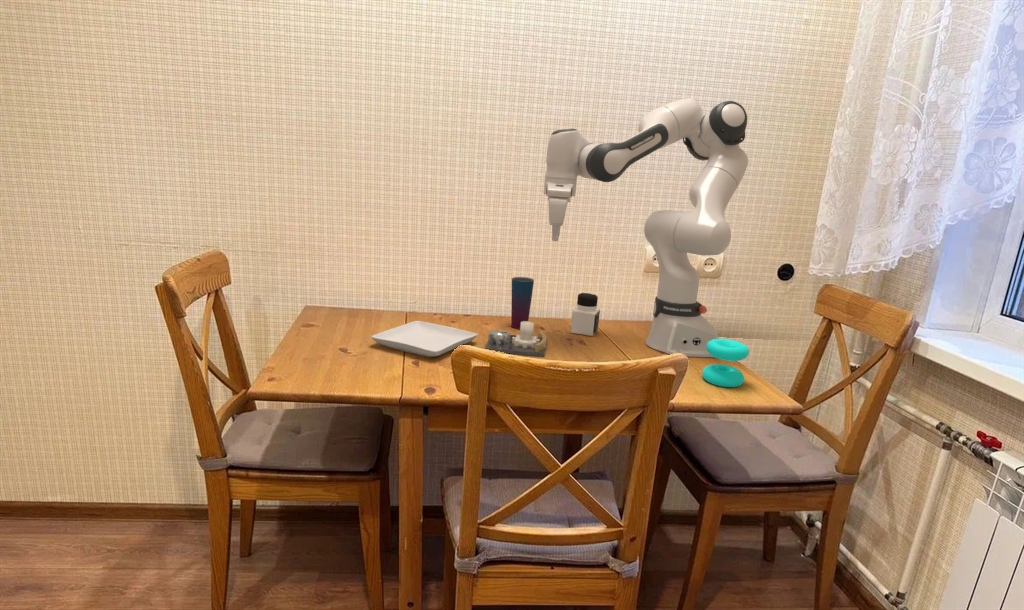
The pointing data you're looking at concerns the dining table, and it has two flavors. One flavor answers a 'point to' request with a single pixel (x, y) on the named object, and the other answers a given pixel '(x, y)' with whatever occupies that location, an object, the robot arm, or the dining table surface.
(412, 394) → the dining table surface
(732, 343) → the donuts
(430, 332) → the salad plate
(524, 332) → the planet gear
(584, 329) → the medicine bottle
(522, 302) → the cup
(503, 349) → the carrier plate
